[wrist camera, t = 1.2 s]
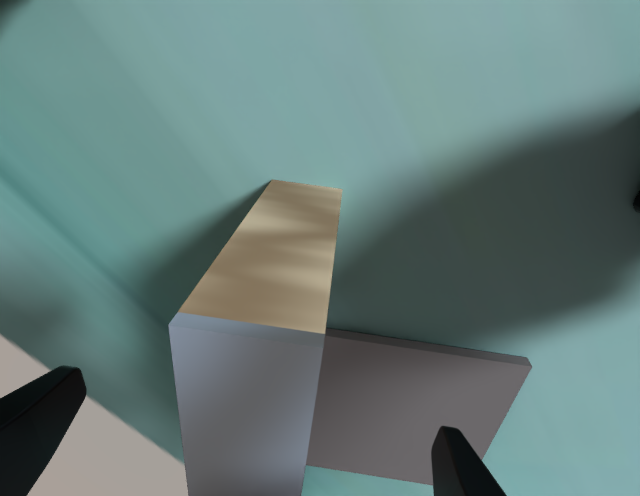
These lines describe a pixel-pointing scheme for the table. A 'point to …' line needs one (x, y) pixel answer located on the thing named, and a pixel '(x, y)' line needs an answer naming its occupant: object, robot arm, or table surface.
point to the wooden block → (257, 346)
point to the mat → (405, 402)
